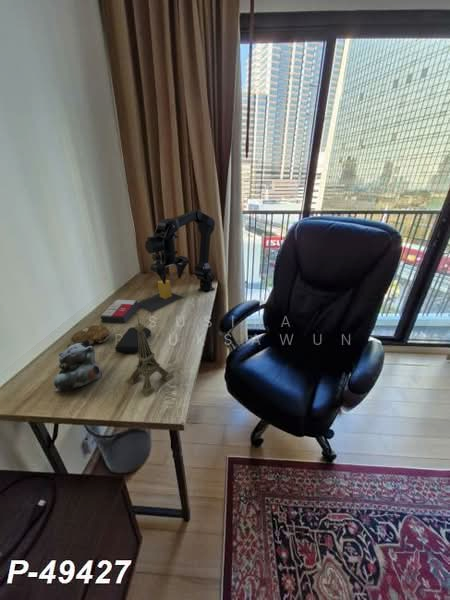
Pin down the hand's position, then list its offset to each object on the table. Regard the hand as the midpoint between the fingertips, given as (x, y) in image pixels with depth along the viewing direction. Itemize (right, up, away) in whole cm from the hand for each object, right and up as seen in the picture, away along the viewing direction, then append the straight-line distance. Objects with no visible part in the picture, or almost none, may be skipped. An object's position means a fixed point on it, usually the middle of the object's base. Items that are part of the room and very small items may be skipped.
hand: (172, 281), depth 120 cm
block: (-6, -7, +14) cm, 17 cm away
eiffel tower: (+1, -35, -38) cm, 52 cm away
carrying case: (-10, -26, -20) cm, 35 cm away
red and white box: (-24, -16, 0) cm, 29 cm away
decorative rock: (-28, -25, -17) cm, 42 cm away
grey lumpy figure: (-22, -36, -38) cm, 56 cm away
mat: (-9, -10, +11) cm, 17 cm away
